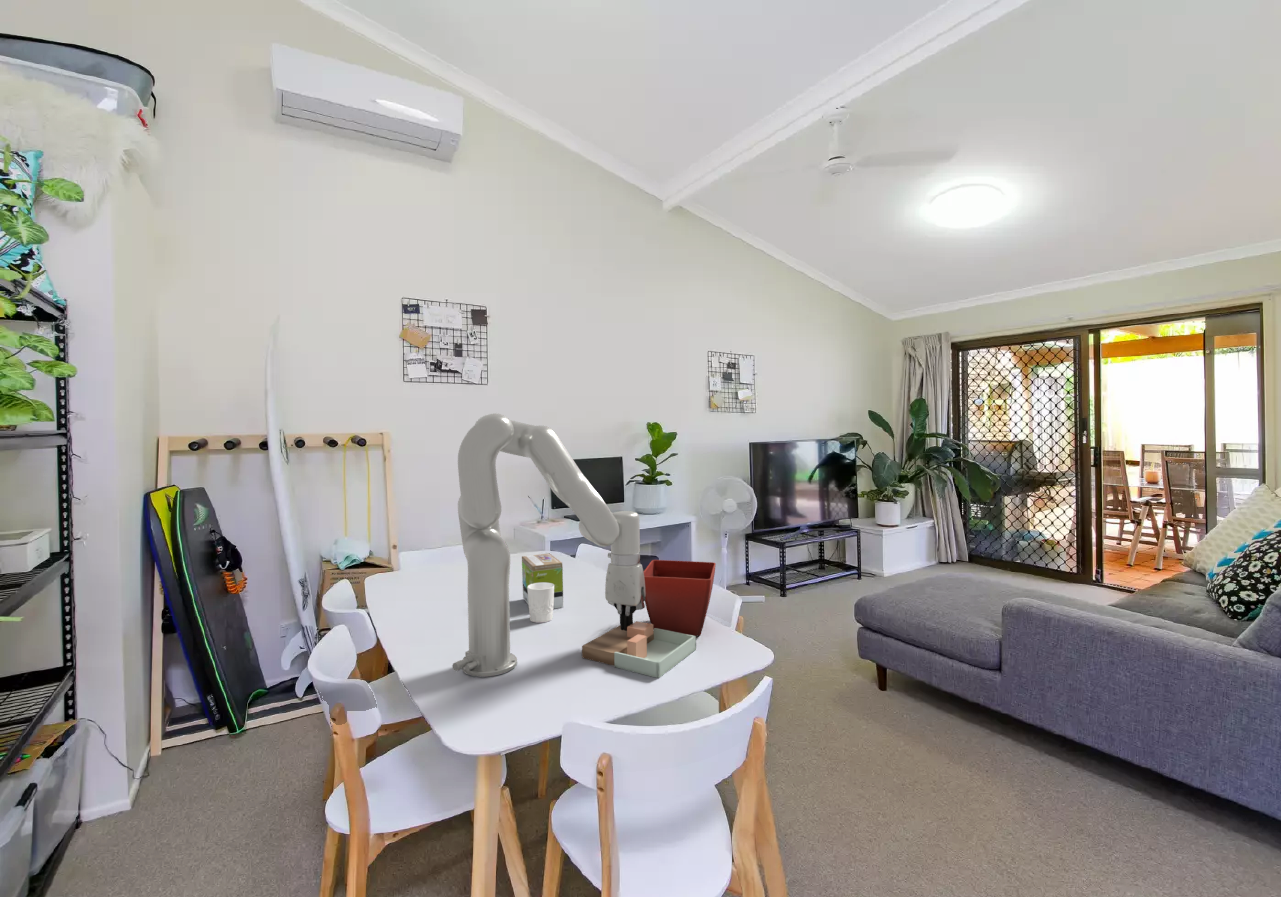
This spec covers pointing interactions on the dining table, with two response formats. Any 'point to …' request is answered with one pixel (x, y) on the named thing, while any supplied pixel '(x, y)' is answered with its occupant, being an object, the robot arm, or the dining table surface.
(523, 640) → the dining table surface
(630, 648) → the tile
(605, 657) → the board
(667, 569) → the plant pot
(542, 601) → the white cup
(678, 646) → the tray
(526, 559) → the tea box
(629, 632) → the tile
